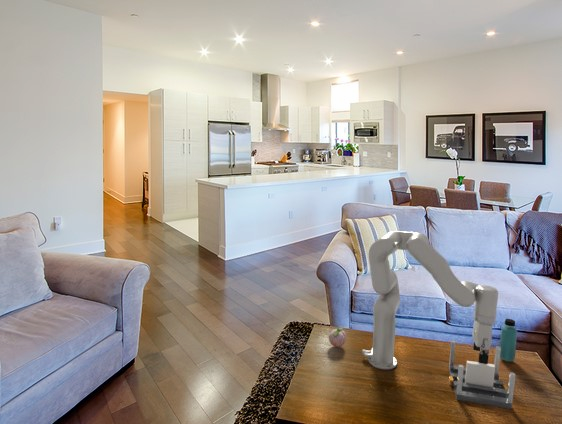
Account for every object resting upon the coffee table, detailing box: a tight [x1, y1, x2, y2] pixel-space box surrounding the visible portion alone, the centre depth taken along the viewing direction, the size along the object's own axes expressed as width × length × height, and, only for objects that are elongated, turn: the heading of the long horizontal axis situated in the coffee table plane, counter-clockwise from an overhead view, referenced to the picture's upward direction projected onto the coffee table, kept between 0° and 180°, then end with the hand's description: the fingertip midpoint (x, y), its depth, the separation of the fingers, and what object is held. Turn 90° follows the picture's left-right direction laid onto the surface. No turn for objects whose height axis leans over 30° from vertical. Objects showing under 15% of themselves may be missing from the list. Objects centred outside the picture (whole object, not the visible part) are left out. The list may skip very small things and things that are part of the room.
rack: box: [448, 339, 516, 410], centre depth 151 cm, size 21×21×14 cm
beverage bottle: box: [498, 318, 518, 362], centre depth 170 cm, size 6×7×20 cm
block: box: [465, 360, 495, 387], centre depth 151 cm, size 10×2×10 cm, turn 73°
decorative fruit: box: [328, 327, 347, 348], centre depth 182 cm, size 9×8×10 cm
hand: (480, 356), depth 150 cm, fingers open, 9 cm apart
